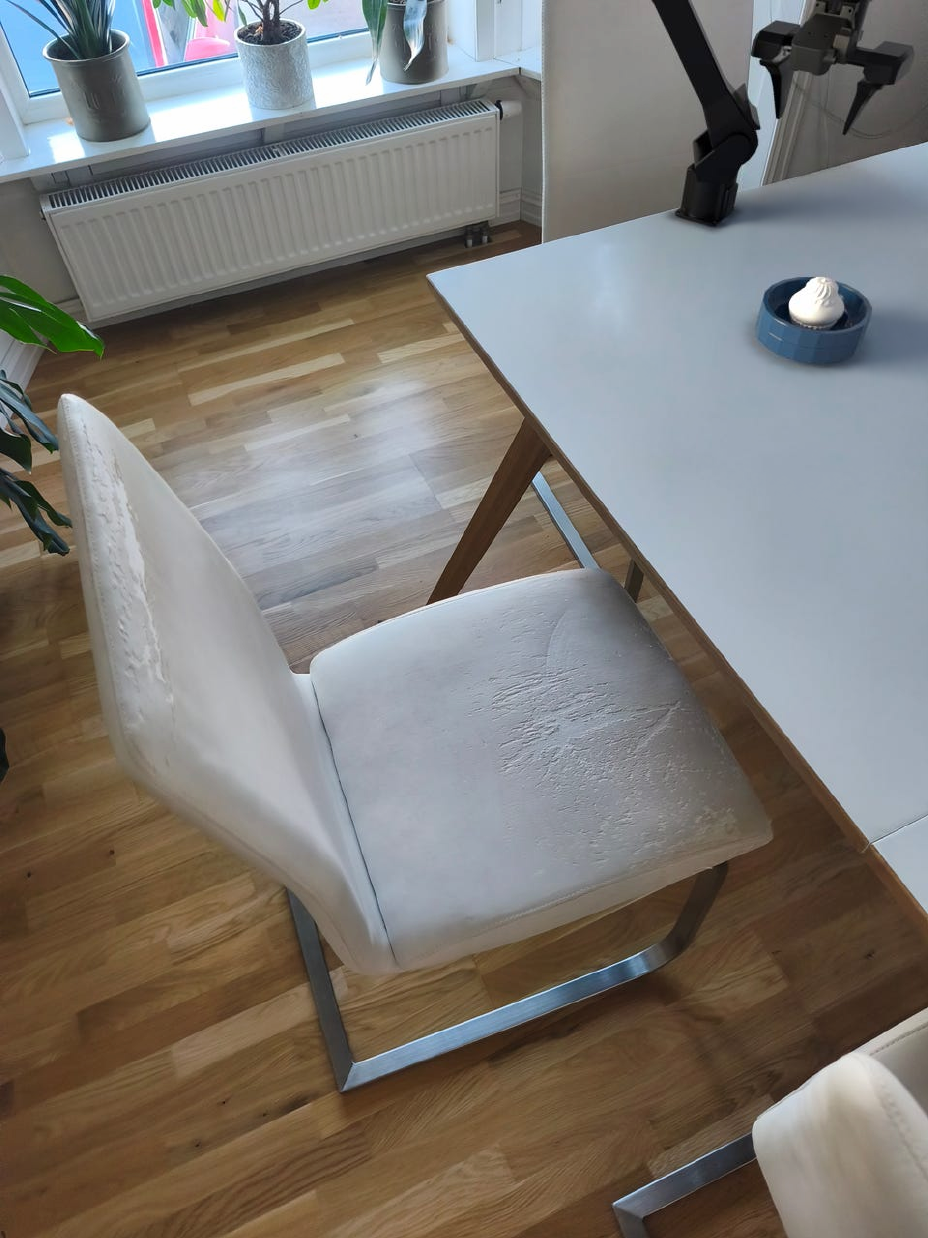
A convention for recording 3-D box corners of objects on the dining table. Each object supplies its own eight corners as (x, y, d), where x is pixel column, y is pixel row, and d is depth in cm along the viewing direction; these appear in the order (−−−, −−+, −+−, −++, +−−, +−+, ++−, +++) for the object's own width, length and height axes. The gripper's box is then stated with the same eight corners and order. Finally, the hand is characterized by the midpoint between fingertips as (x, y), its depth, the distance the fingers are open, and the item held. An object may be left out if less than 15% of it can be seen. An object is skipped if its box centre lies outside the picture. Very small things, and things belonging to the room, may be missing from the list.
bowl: (736, 344, 102) (744, 310, 99) (781, 300, 108) (790, 266, 105) (833, 380, 97) (846, 345, 94) (875, 331, 103) (888, 297, 100)
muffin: (782, 315, 105) (798, 261, 99) (834, 321, 104) (853, 267, 98) (780, 344, 101) (796, 289, 96) (834, 350, 100) (853, 295, 94)
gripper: (744, -12, 100) (718, 130, 112) (902, 16, 93) (855, 165, 105) (786, -36, 106) (756, 102, 118) (938, -12, 98) (889, 134, 110)
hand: (811, 125), depth 112 cm, fingers open, 9 cm apart
